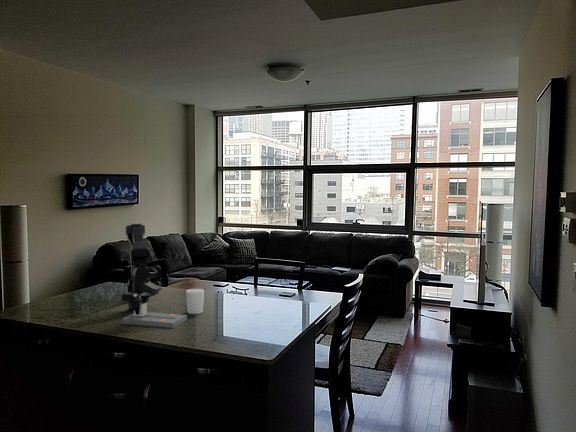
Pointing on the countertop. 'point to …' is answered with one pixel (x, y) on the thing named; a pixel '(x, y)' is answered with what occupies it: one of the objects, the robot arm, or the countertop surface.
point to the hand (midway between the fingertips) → (140, 313)
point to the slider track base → (156, 319)
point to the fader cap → (142, 309)
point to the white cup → (195, 300)
